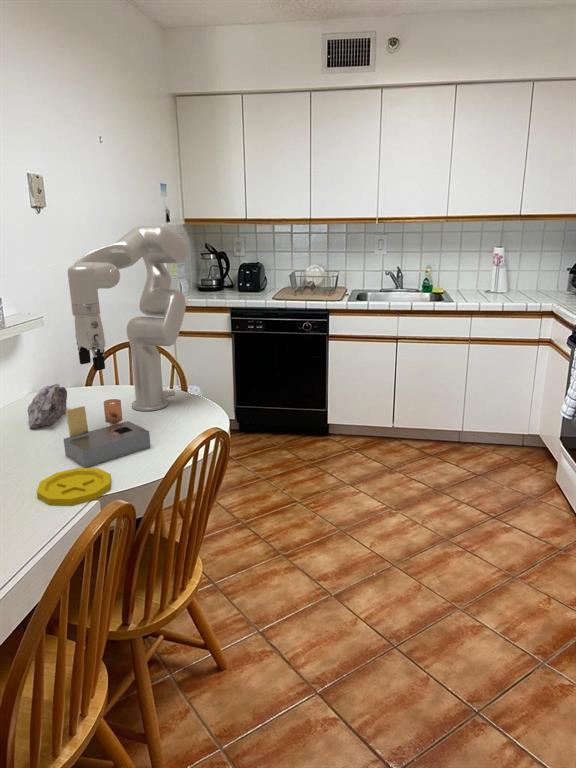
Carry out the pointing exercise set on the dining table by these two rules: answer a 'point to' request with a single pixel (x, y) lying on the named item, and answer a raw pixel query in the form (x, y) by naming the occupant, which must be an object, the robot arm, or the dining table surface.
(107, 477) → the decorative disc
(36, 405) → the rock
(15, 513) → the dining table surface
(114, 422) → the small bottle
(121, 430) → the plate
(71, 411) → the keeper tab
